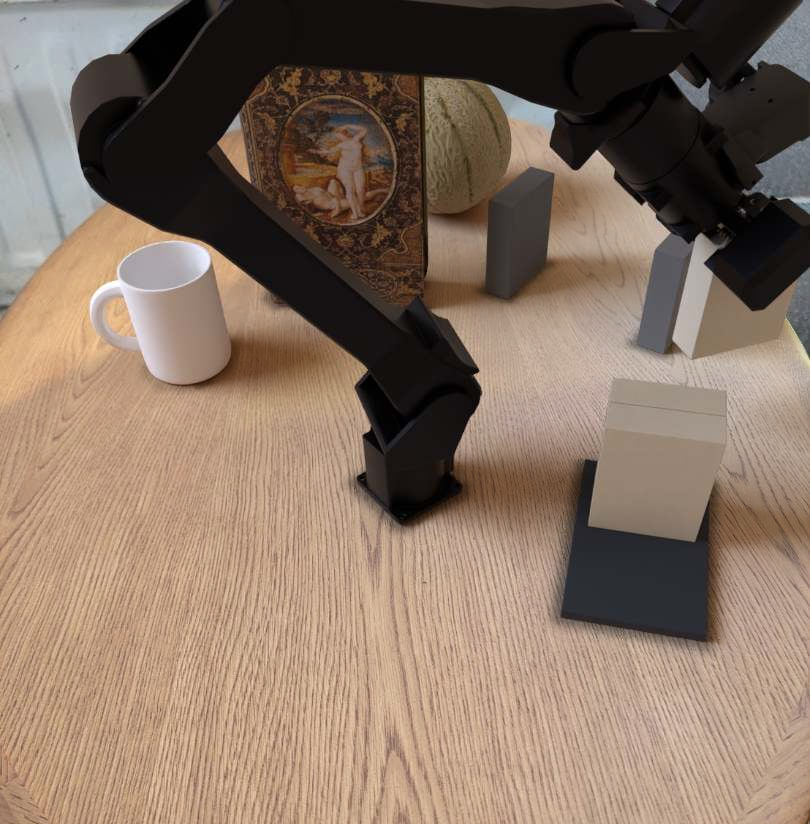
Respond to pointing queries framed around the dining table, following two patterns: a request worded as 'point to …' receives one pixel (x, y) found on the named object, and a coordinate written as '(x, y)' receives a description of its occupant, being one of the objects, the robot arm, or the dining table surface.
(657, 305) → the grey books
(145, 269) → the mug
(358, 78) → the book
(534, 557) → the dining table surface
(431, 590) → the dining table surface
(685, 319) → the cream book
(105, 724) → the dining table surface
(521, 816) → the dining table surface
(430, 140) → the cantaloupe
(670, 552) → the book mat
